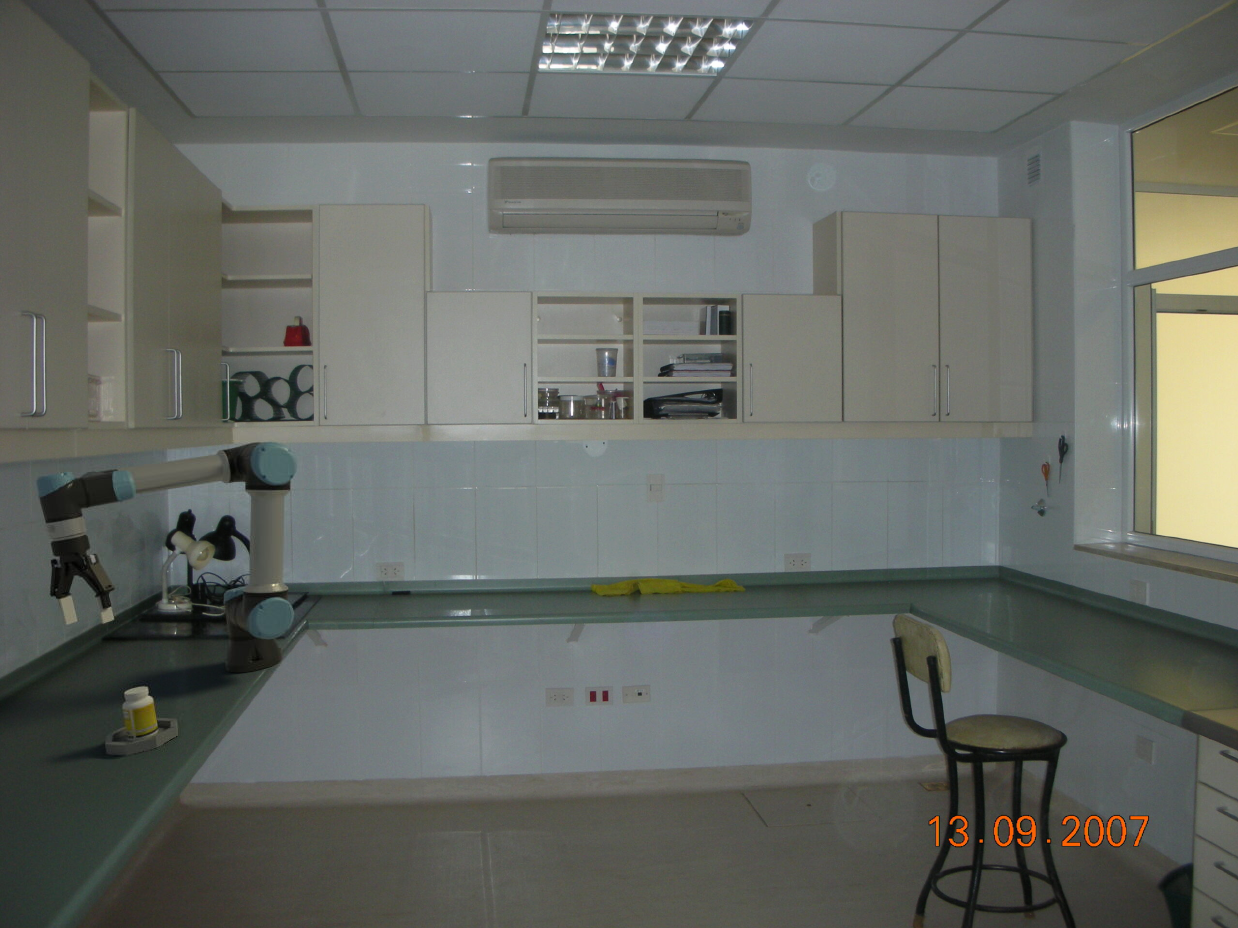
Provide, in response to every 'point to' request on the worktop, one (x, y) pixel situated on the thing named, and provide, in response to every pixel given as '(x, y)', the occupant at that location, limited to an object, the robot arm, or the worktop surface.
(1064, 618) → the worktop surface
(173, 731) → the octagonal tray
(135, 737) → the pill bottle
